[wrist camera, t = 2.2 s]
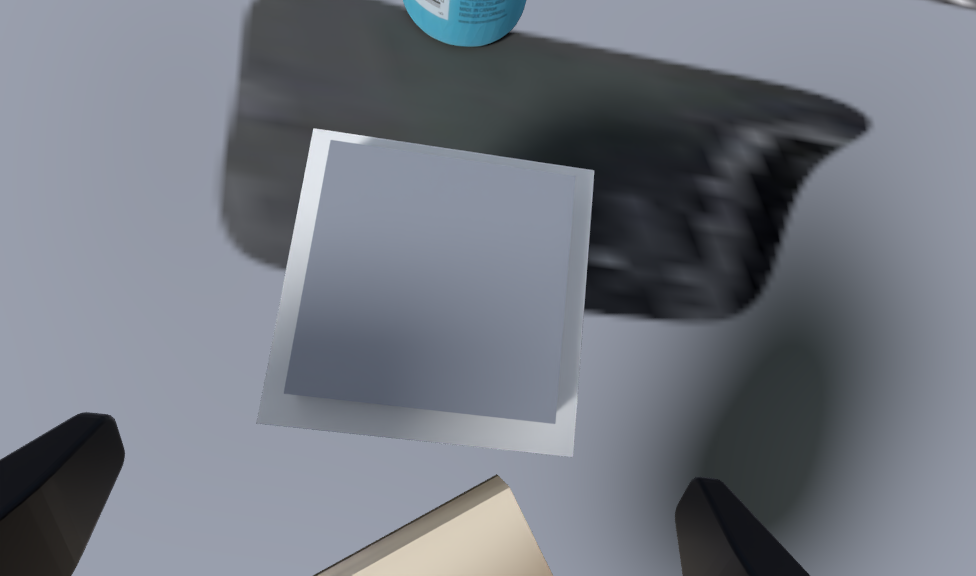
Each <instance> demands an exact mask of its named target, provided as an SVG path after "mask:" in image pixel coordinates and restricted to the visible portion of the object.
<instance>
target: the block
mask: <svg viewBox="0 0 976 576" xmlns="http://www.w3.org/2000/svg"><path fill="white" fill-rule="evenodd" d="M313 576H553V575H552V573H551V571H550V569H549V566H548V564H547V562H546V561H545V558H544V557H543V554H542V552H541V550H540V548H539V546H538V544H537V542H536V540H535V538H534V536H533V534H532V532H531V530H530V528H529V526H528V524H527V522H526V520H525V517H524V515H523V513H522V511H521V509H520V507H519V505H518V503H517V501H516V499H515V497H514V496H513V493H512V491H511V489H510V487H509V486H508V485H507V484H506V483H505V482H504V481H503V480H502V479H501V478H500V477H499V476H498V475H497V474H496V475H495V476H493V477H491V478H489V479H487V480H485V481H484V482H482V483H480V484H478V485H476V486H474V487H473V488H471V489H469V490H467V491H465V492H464V493H462V494H460V495H458V496H456V497H454V498H453V499H451V500H449V501H447V502H445V503H444V504H442V505H440V506H438V507H436V508H435V509H433V510H431V511H429V512H427V513H425V514H424V515H422V516H420V517H418V518H416V519H415V520H413V521H411V522H409V523H408V524H405V525H404V526H402V527H400V528H398V529H396V530H395V531H393V532H391V533H389V534H387V535H385V536H384V537H382V538H380V539H379V540H376V541H375V542H373V543H371V544H369V545H367V546H365V547H364V548H362V549H360V550H358V551H356V552H355V553H353V554H351V555H349V556H347V557H345V558H344V559H342V560H340V561H338V562H336V563H335V564H333V565H331V566H329V567H328V568H326V569H324V570H322V571H320V572H318V573H316V574H315V575H313Z"/></svg>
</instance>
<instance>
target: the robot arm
mask: <svg viewBox="0 0 976 576" xmlns="http://www.w3.org/2000/svg"><path fill="white" fill-rule="evenodd" d="M124 457H125V451H124V447H123V443H122V440H121V437H120V434H119V431H118V427H117V424H116V421H115V419H114V418H113V417H112V416H111V415H108V414H98V413H87V412H86V413H80V414H77V415H75V416H74V417H72V418H70V419H68V420H67V421H65V422H63V423H62V424H60V425H58V426H56V427H55V428H53V429H51V430H50V431H48V432H46V433H45V434H43V435H42V436H40V437H38V438H36V439H35V440H33V441H31V442H29V443H28V444H26V445H25V446H23V447H21V448H19V449H18V450H16V451H14V452H13V453H11V454H9V455H7V456H6V457H4V458H2V459H1V460H0V576H71V575H72V574H73V572H74V570H75V568H76V566H77V564H78V562H79V560H80V558H81V556H82V554H83V552H84V550H85V548H86V545H87V543H88V541H89V539H90V537H91V534H92V532H93V530H94V528H95V526H96V523H97V521H98V519H99V517H100V515H101V512H102V510H103V508H104V506H105V504H106V501H107V499H108V497H109V495H110V492H111V490H112V488H113V486H114V484H115V481H116V479H117V477H118V475H119V473H120V470H121V468H122V466H123V462H124ZM675 523H676V531H677V537H678V545H679V552H680V559H681V566H682V574H683V576H810V575H809V574H808V573H807V572H806V571H805V570H804V569H803V568H802V567H801V565H800V564H799V563H798V562H797V561H796V560H795V559H794V558H793V557H792V556H791V555H790V554H789V553H788V551H787V550H786V549H785V548H784V547H783V546H782V545H781V544H780V543H779V542H778V541H777V540H776V539H775V537H774V536H773V535H772V534H771V533H770V532H769V531H768V530H767V529H766V528H765V527H764V526H763V525H762V524H761V522H760V521H759V520H758V519H757V518H756V517H755V516H754V515H753V514H752V513H751V512H750V511H749V510H748V508H747V507H746V506H745V505H744V504H743V503H742V502H741V501H740V500H739V499H738V498H737V497H736V496H735V495H734V493H732V491H731V490H730V489H729V488H728V487H727V486H726V485H725V484H724V483H723V482H721V481H720V480H718V479H714V478H704V477H695V478H694V479H692V480H691V482H690V483H689V485H688V487H687V489H686V491H685V492H684V494H683V496H682V498H681V500H680V501H679V503H678V506H677V508H676V512H675Z"/></svg>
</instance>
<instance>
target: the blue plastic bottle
mask: <svg viewBox="0 0 976 576" xmlns="http://www.w3.org/2000/svg"><path fill="white" fill-rule="evenodd" d="M403 2H404V5H405V7H406V10H407V11H408V13H409V15H410V16H411V18H412V19H413V21H414V22H415V23H416V24H417V25H418V26H419V27H420V28H421V29H422V30H423V31H424V32H425V33H426V34H428V35H429V36H431V37H432V38H435V39H437V40H439V41H442V42H444V43H447V44H451V45H456V46H468V47H475V46H483V45H486V44H489V43H492V42H494V41H496V40H498V39H500V38H502V37H503V36H505V35H506V34H507V33H508V32H510V31H511V30H512V29H513V28H514V26H515V25H516V24H517V22H518V20H519V18H520V17H521V15H522V13H523V10H524V6H525V3H526V0H403Z"/></svg>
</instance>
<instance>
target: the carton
mask: <svg viewBox="0 0 976 576" xmlns="http://www.w3.org/2000/svg"><path fill="white" fill-rule="evenodd" d="M593 182H594V170H588V169H582V168H575V167H568V166H562V165H555V164H548V163H541V162H535V161H528V160H521V159H515V158H508V157H501V156H495V155H488V154H481V153H475V152H468V151H461V150H454V149H448V148H441V147H434V146H428V145H421V144H414V143H408V142H401V141H394V140H387V139H381V138H374V137H367V136H361V135H354V134H347V133H341V132H334V131H327V130H321V129H313V134H312V139H311V144H310V149H309V155H308V160H307V165H306V170H305V175H304V180H303V186H302V191H301V196H300V201H299V206H298V211H297V217H296V222H295V227H294V232H293V237H292V242H291V248H290V253H289V258H288V263H287V268H286V273H285V278H284V284H283V289H282V294H281V299H280V304H279V309H278V315H277V320H276V325H275V330H274V335H273V341H272V346H271V351H270V356H269V362H268V366H267V372H266V377H265V382H264V387H263V392H262V397H261V403H260V408H259V413H258V418H257V424H265V425H276V426H284V427H293V428H303V429H312V430H321V431H332V432H340V433H349V434H359V435H368V436H378V437H387V438H396V439H405V440H416V441H424V442H435V443H443V444H453V445H462V446H471V447H481V448H491V449H499V450H508V451H518V452H527V453H536V454H546V455H555V456H565V457H573V452H574V438H575V425H576V411H577V397H578V383H579V370H580V357H581V344H582V330H583V317H584V303H585V290H586V276H587V263H588V250H589V236H590V223H591V209H592V196H593Z"/></svg>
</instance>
